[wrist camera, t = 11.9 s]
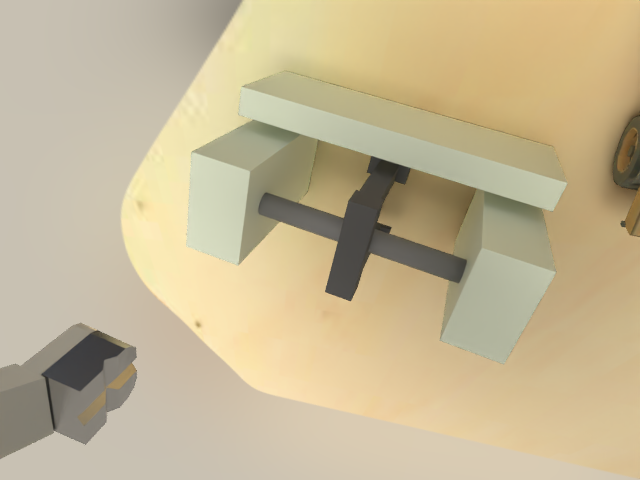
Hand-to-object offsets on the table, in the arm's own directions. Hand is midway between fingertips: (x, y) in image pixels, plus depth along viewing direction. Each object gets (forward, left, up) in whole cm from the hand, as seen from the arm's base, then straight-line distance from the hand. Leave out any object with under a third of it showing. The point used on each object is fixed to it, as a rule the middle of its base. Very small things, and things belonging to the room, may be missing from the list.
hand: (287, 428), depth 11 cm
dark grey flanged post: (+2, +6, -27) cm, 28 cm away
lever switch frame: (+2, +4, -31) cm, 31 cm away
